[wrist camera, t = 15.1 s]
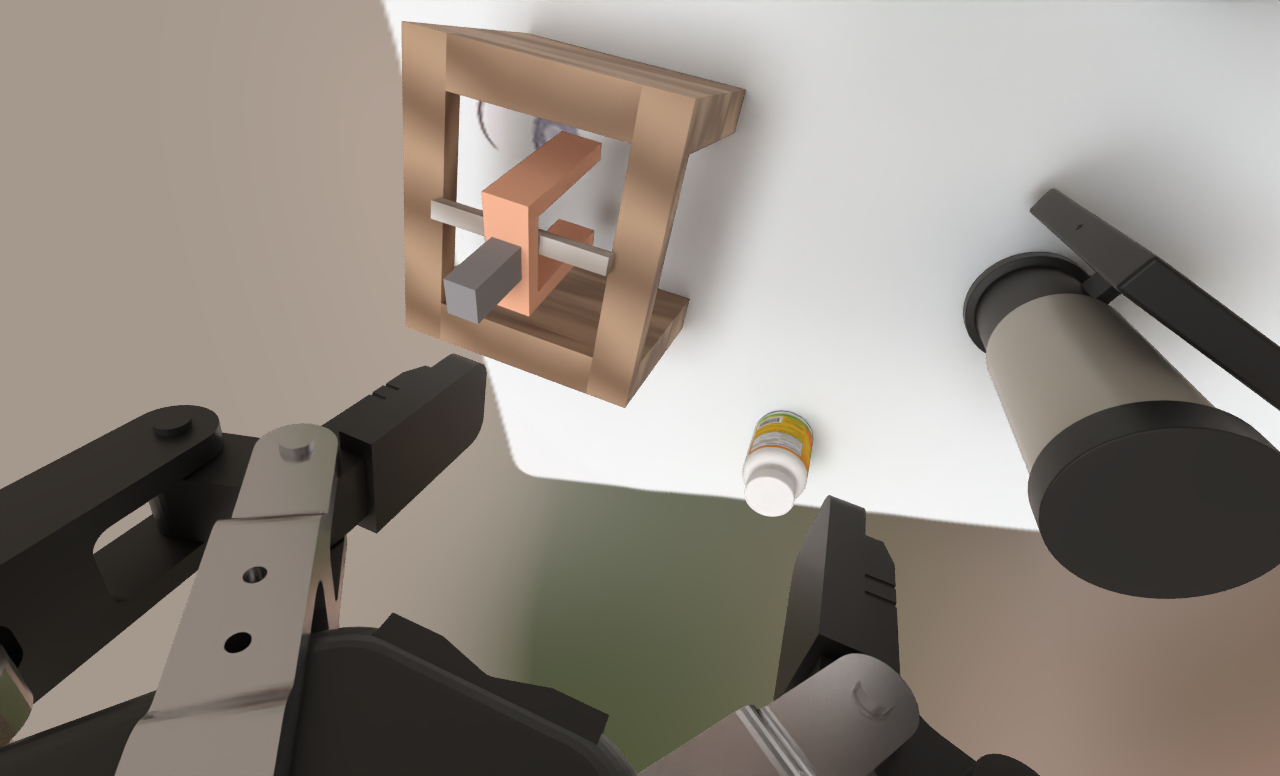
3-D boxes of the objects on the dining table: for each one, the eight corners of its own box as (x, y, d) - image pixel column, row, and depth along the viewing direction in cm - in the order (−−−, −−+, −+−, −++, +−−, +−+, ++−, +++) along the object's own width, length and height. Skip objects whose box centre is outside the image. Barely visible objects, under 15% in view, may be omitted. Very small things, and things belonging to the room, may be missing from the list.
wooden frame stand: (527, 33, 46) (389, 19, 33) (745, 89, 43) (690, 99, 30) (507, 269, 57) (397, 331, 44) (681, 328, 54) (619, 415, 40)
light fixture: (918, 300, 46) (957, 489, 25) (1041, 179, 40) (1224, 299, 19) (1041, 391, 46) (1180, 653, 25) (1182, 284, 40) (1515, 515, 19)
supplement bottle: (797, 467, 56) (785, 534, 48) (746, 443, 57) (725, 505, 49) (823, 425, 53) (815, 489, 45) (768, 400, 54) (751, 458, 46)
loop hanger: (562, 131, 41) (428, 231, 30) (601, 143, 40) (479, 248, 30) (558, 232, 46) (445, 345, 36) (593, 244, 46) (488, 362, 36)
